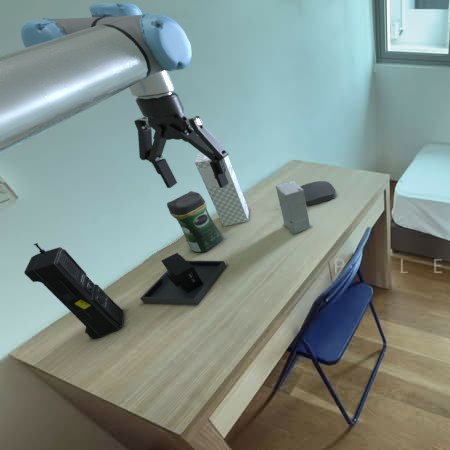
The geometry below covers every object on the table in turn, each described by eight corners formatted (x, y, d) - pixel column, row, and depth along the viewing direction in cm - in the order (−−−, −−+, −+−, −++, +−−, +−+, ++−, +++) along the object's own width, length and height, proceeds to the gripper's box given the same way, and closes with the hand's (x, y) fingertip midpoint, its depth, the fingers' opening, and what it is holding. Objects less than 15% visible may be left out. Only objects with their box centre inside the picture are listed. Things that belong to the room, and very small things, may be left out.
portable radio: (123, 331, 76) (53, 254, 62) (92, 343, 73) (11, 266, 59) (124, 310, 81) (61, 235, 67) (96, 321, 79) (23, 246, 64)
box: (225, 214, 119) (198, 153, 104) (248, 209, 121) (225, 149, 107) (223, 226, 112) (194, 162, 98) (248, 220, 115) (223, 157, 100)
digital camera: (167, 280, 89) (155, 262, 85) (187, 269, 93) (176, 251, 89) (183, 296, 84) (171, 277, 80) (203, 284, 88) (192, 266, 84)
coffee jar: (211, 233, 109) (188, 187, 98) (227, 238, 106) (205, 191, 95) (186, 250, 102) (158, 201, 91) (202, 255, 99) (176, 206, 88)
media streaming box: (303, 208, 120) (302, 201, 119) (294, 193, 131) (292, 186, 129) (338, 197, 126) (337, 191, 124) (327, 184, 137) (326, 178, 135)
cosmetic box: (284, 225, 112) (272, 186, 102) (302, 217, 115) (292, 179, 106) (294, 235, 106) (282, 195, 97) (313, 226, 110) (303, 187, 101)
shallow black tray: (197, 305, 82) (193, 299, 81) (143, 303, 83) (139, 298, 82) (226, 266, 94) (224, 260, 93) (180, 265, 96) (177, 260, 94)
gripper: (222, 89, 66) (253, 178, 78) (115, 92, 68) (161, 178, 80) (201, 97, 60) (238, 192, 72) (84, 100, 62) (139, 192, 74)
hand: (198, 185), depth 76 cm, fingers open, 13 cm apart
